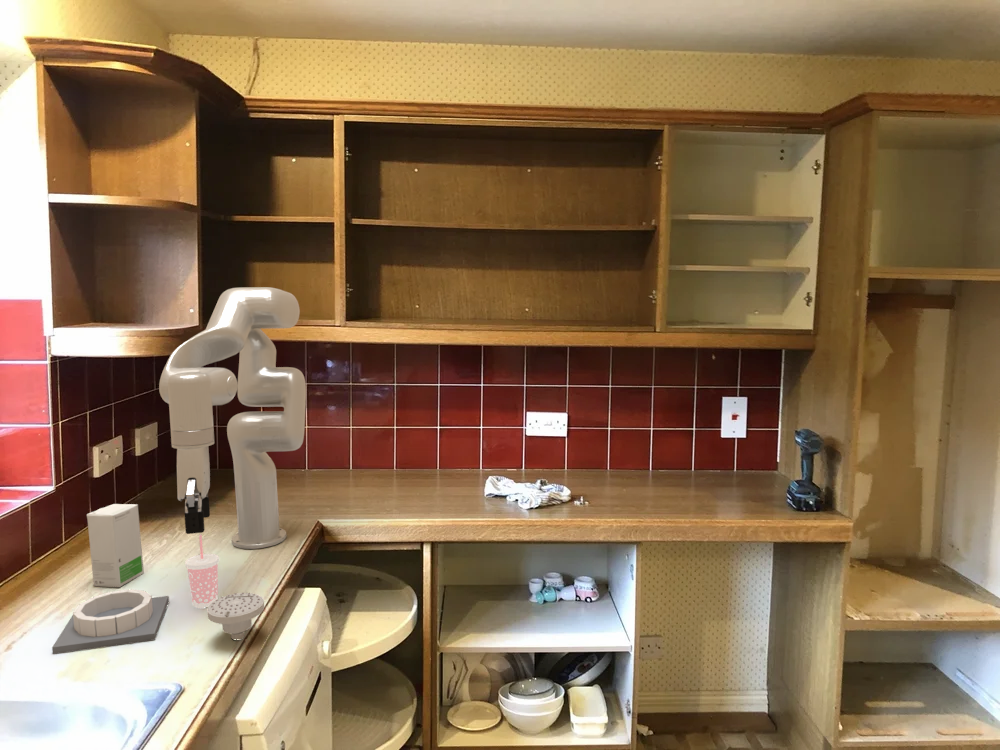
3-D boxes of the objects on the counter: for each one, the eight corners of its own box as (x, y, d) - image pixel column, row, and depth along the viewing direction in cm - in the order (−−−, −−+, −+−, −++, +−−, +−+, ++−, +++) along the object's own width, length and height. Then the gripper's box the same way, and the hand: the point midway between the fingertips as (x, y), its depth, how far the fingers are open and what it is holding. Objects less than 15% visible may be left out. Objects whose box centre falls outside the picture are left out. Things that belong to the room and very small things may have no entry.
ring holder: (78, 612, 139) (76, 592, 139) (169, 601, 144) (167, 581, 143) (52, 654, 124) (50, 630, 123) (155, 639, 128) (153, 617, 128)
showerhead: (196, 613, 122) (217, 588, 132) (199, 654, 123) (220, 625, 133) (253, 612, 123) (269, 586, 132) (255, 652, 124) (272, 624, 133)
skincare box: (118, 588, 150) (112, 516, 148) (90, 586, 151) (83, 514, 149) (145, 572, 158) (139, 503, 156) (118, 570, 159) (112, 502, 157)
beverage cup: (191, 598, 145) (186, 530, 143) (224, 594, 146) (219, 528, 144) (185, 611, 139) (180, 541, 137) (219, 608, 140) (214, 538, 138)
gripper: (178, 430, 145) (183, 513, 147) (164, 447, 129) (170, 541, 131) (218, 428, 147) (222, 510, 149) (209, 444, 131) (214, 537, 133)
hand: (198, 524), depth 140 cm, fingers open, 9 cm apart
